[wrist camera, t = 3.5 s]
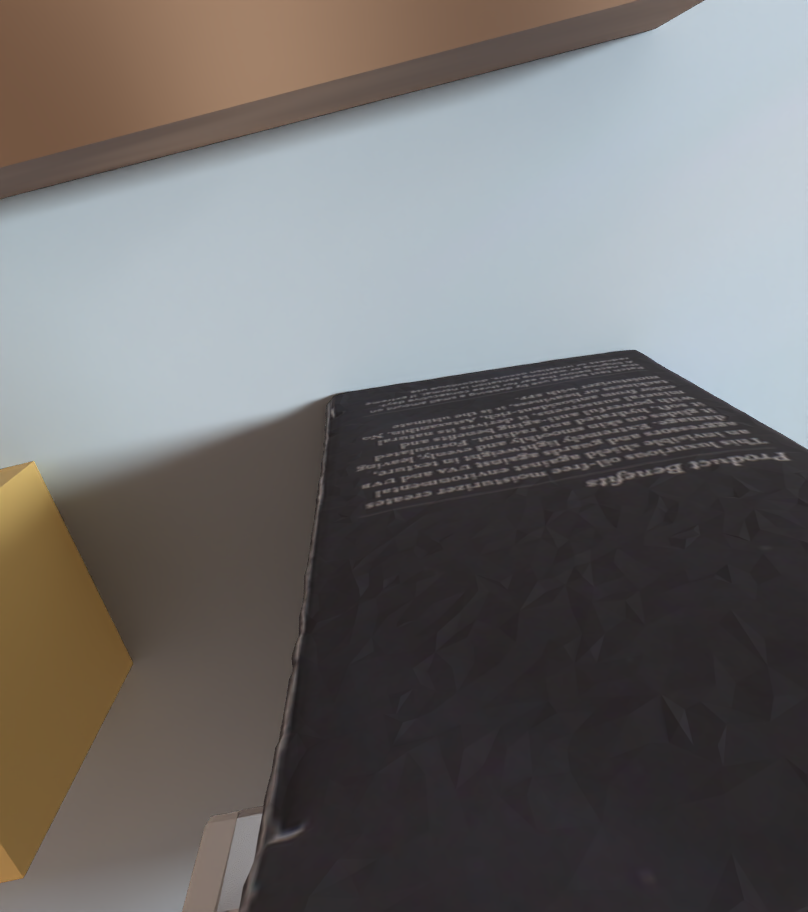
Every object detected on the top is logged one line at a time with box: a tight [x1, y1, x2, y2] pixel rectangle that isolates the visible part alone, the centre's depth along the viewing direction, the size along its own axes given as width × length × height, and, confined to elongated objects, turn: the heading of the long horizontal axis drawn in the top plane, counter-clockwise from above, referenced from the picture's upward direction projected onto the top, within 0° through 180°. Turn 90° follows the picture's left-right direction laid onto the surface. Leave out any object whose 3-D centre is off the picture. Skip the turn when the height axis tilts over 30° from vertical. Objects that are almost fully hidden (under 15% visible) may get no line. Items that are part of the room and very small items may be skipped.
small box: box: [239, 350, 808, 912], centre depth 10 cm, size 11×6×10 cm, turn 9°
